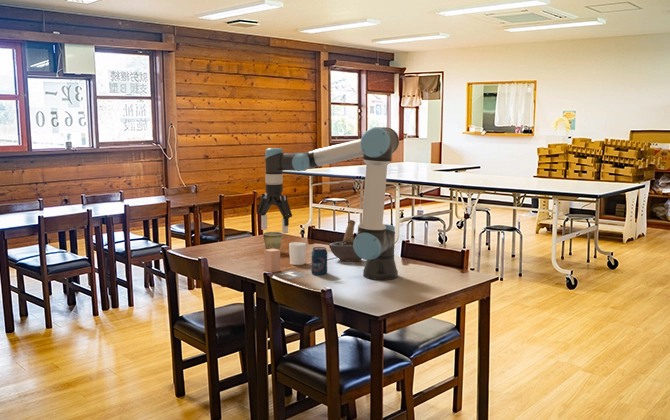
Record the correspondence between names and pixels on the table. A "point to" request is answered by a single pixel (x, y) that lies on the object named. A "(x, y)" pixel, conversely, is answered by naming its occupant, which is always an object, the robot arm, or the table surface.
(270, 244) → the ceramic cup
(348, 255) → the mortar and pestle
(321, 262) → the soda can
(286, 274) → the mat
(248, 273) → the table surface
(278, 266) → the block
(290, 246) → the white cup
